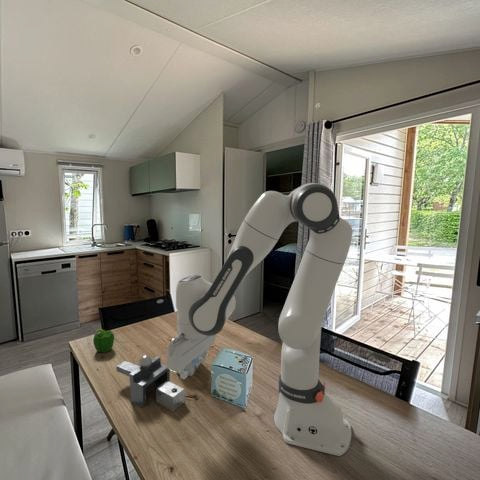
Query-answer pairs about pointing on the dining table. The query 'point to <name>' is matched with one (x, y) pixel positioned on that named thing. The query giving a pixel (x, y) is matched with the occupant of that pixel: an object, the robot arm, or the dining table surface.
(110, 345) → the bell pepper
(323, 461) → the dining table surface
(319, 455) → the dining table surface
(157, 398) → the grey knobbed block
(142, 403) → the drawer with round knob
